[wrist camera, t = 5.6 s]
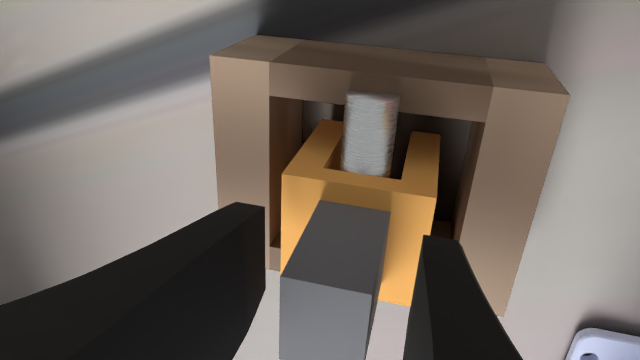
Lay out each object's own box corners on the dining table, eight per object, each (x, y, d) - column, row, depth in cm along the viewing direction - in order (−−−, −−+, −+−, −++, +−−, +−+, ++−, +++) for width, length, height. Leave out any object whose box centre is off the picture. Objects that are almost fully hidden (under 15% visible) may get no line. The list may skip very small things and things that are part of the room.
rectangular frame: (495, 251, 15) (506, 339, 12) (258, 210, 16) (209, 276, 13) (545, 63, 12) (579, 107, 9) (255, 34, 14) (193, 62, 10)
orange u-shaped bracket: (424, 225, 14) (406, 409, 9) (317, 207, 15) (236, 366, 9) (440, 134, 13) (432, 282, 7) (322, 119, 14) (230, 243, 8)
